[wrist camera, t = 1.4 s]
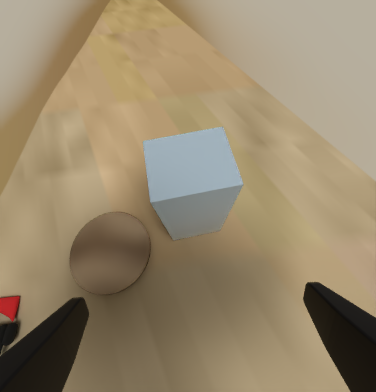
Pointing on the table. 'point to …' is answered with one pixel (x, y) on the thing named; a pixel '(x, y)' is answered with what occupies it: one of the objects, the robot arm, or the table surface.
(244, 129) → the table surface
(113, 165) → the table surface
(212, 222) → the pale blue box
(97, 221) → the coaster
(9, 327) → the toy figure
